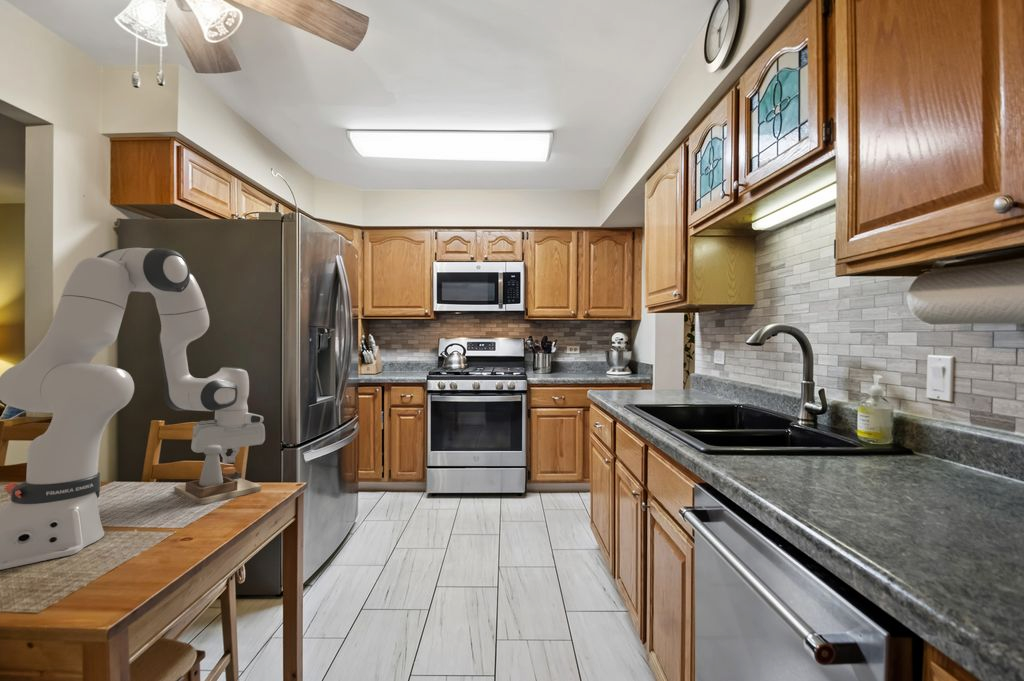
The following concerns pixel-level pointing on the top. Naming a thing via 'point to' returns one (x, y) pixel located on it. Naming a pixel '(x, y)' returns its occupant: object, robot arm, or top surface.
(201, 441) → the robot arm
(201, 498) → the pallet board
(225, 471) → the button
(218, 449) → the salt shaker
